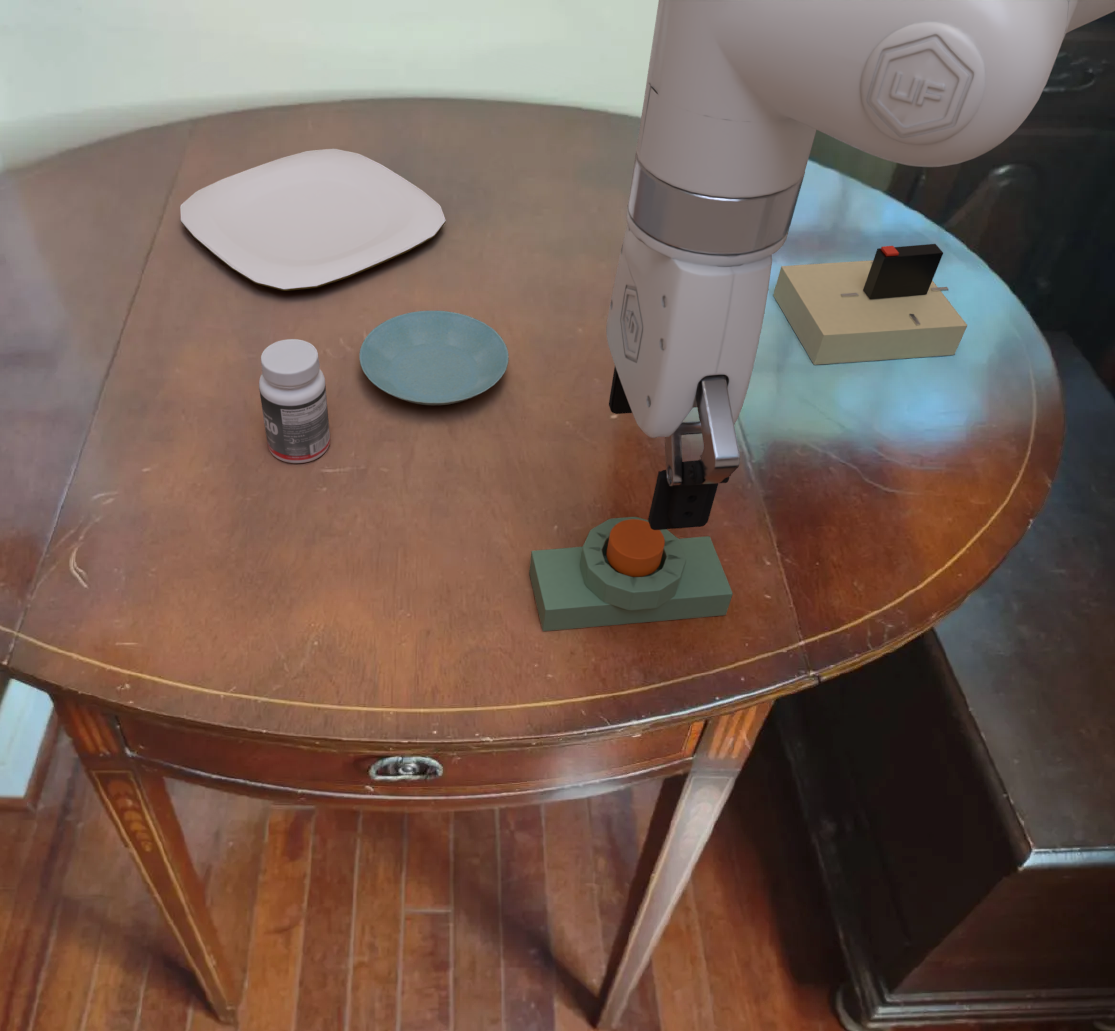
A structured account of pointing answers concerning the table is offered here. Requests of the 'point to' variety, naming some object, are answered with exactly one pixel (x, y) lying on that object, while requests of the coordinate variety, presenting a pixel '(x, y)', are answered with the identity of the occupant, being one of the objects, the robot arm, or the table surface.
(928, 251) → the knob
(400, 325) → the saucer
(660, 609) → the block
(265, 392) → the pill bottle
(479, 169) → the table surface
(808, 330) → the panel
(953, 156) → the robot arm
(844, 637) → the table surface
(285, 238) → the plate
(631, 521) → the button
